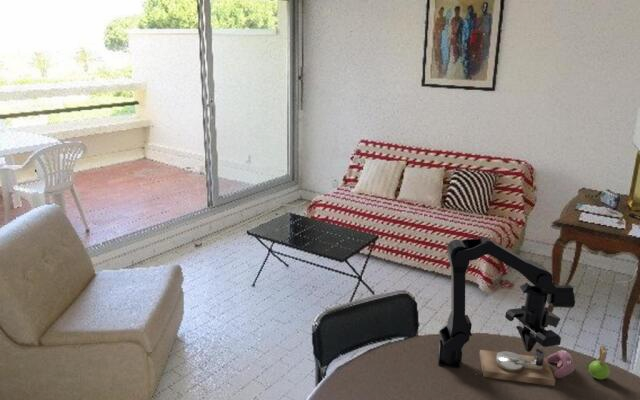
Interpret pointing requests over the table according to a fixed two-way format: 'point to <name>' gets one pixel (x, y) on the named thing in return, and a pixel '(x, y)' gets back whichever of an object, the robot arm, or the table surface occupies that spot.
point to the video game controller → (562, 363)
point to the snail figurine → (600, 365)
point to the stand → (525, 375)
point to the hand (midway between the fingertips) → (528, 351)
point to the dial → (519, 361)
